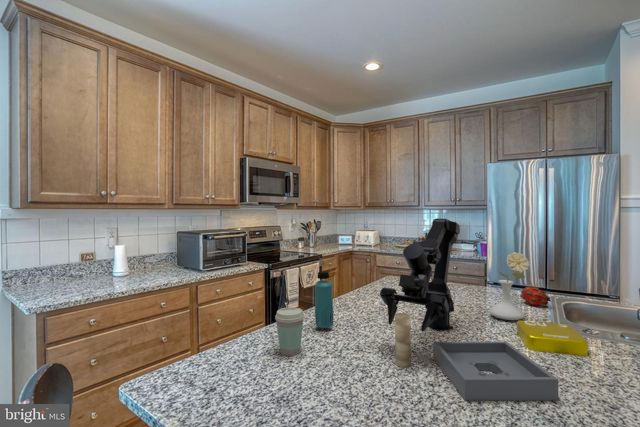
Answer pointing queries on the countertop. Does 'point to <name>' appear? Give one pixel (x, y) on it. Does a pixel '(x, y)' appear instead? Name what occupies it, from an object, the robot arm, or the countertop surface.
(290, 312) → the coffee cup
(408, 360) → the birch peg
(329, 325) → the beverage bottle
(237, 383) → the countertop surface
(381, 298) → the white ring with post
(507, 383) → the charcoal box
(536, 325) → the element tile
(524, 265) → the flower in vase
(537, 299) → the dragon fruit
